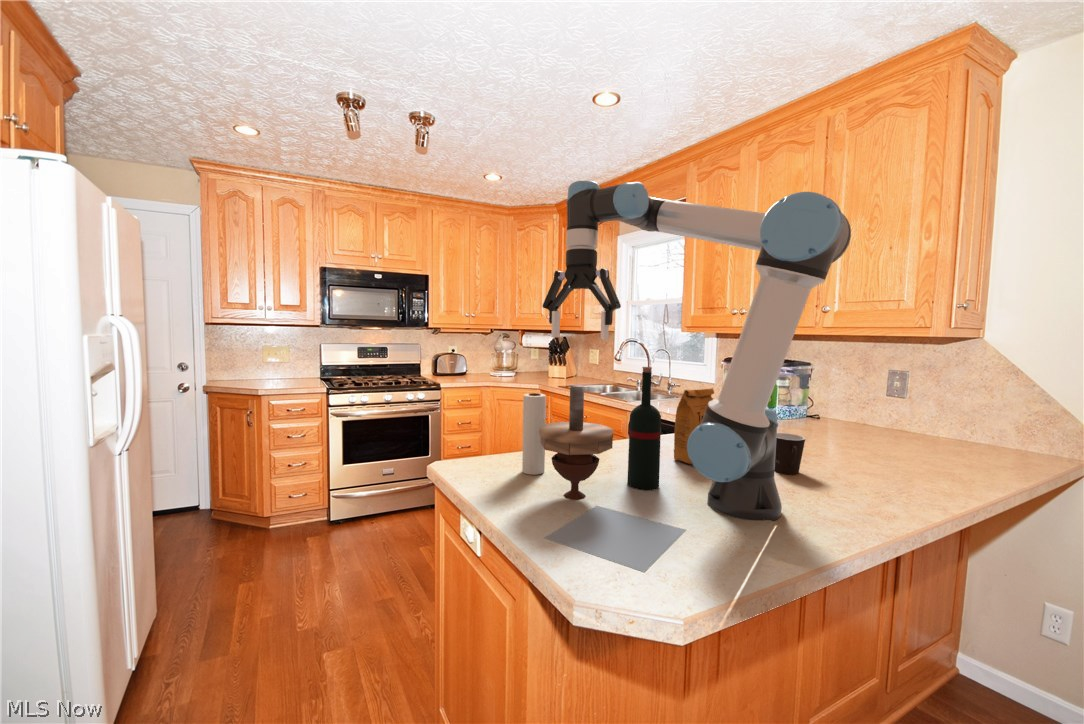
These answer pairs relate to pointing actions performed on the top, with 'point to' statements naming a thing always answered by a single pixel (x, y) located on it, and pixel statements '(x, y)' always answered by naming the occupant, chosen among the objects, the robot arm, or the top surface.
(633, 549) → the mat
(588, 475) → the ice cream bowl
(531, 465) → the paper towel roll
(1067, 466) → the top surface
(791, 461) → the coffee mug
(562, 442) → the lid
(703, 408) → the coffee package
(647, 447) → the wine bottle
